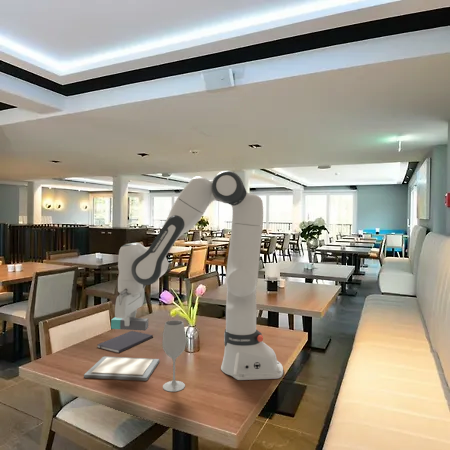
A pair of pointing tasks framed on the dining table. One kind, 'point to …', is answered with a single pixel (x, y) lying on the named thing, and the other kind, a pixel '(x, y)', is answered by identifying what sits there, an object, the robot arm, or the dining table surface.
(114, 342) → the notebook
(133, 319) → the marker
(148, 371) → the notepad
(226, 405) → the dining table surface
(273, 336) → the dining table surface
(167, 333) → the wineglass
